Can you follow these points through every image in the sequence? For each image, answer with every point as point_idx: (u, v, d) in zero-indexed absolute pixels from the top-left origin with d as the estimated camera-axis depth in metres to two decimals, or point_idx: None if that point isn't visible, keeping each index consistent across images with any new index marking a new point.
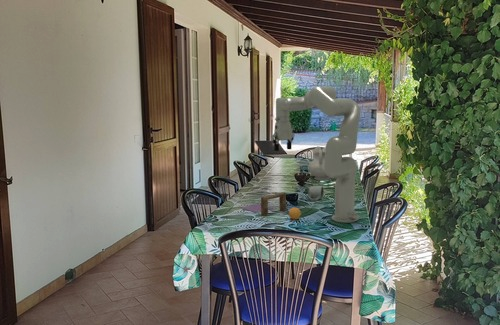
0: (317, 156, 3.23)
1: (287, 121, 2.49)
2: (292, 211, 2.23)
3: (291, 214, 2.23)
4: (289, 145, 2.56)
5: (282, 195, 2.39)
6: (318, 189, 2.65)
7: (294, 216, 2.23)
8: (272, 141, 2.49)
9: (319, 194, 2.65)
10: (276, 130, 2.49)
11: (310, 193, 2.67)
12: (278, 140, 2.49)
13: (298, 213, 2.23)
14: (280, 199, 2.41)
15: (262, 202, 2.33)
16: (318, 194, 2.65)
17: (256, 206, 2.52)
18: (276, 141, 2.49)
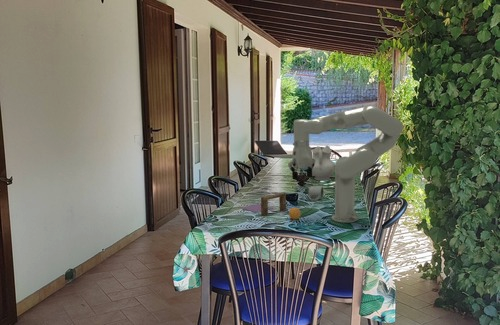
0: (317, 156, 3.23)
1: (307, 146, 2.19)
2: (292, 211, 2.23)
3: (291, 214, 2.23)
4: (309, 172, 2.26)
5: (282, 195, 2.39)
6: (318, 189, 2.65)
7: (294, 216, 2.23)
8: (290, 169, 2.20)
9: (319, 194, 2.64)
10: (294, 156, 2.20)
11: (310, 193, 2.67)
12: (297, 168, 2.20)
13: (298, 213, 2.23)
14: (280, 199, 2.41)
15: (262, 202, 2.33)
16: (318, 194, 2.65)
17: (256, 206, 2.52)
18: (294, 169, 2.20)
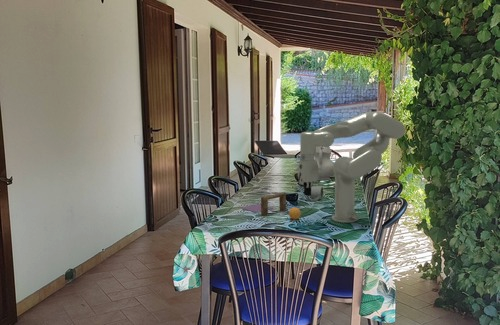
0: (317, 156, 3.23)
1: (314, 160, 2.11)
2: (292, 211, 2.23)
3: (291, 214, 2.23)
4: None
5: (282, 195, 2.39)
6: (318, 190, 2.65)
7: (294, 216, 2.23)
8: (303, 184, 2.15)
9: (319, 194, 2.64)
10: (300, 170, 2.11)
11: None
12: (307, 183, 2.14)
13: (298, 213, 2.23)
14: (280, 199, 2.41)
15: (262, 202, 2.33)
16: (318, 194, 2.64)
17: (256, 206, 2.52)
18: (306, 185, 2.14)
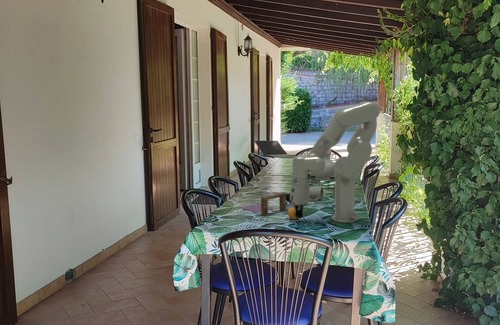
0: None
1: (305, 183, 2.17)
2: (290, 210, 2.24)
3: (290, 214, 2.24)
4: None
5: (282, 195, 2.39)
6: (318, 190, 2.64)
7: (293, 215, 2.24)
8: None
9: (319, 194, 2.64)
10: (292, 193, 2.17)
11: None
12: (299, 206, 2.20)
13: None
14: (280, 199, 2.41)
15: (262, 202, 2.33)
16: (318, 194, 2.64)
17: (256, 206, 2.52)
18: (297, 208, 2.20)
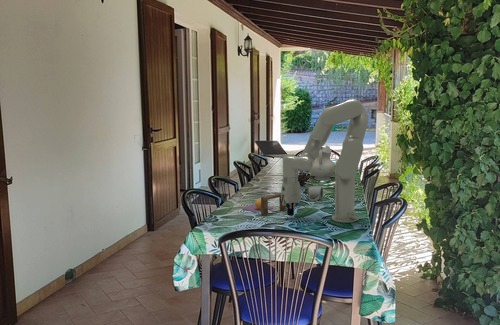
0: (317, 156, 3.23)
1: (295, 182, 2.23)
2: None
3: (256, 204, 2.44)
4: None
5: None
6: (317, 190, 2.64)
7: (256, 201, 2.45)
8: None
9: (318, 195, 2.63)
10: (283, 192, 2.23)
11: (309, 194, 2.65)
12: (290, 204, 2.25)
13: None
14: (280, 199, 2.41)
15: (262, 202, 2.33)
16: (317, 195, 2.63)
17: None
18: (289, 206, 2.26)
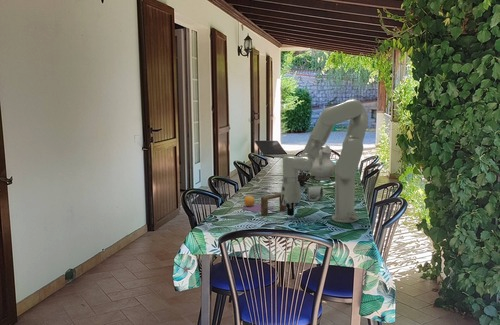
0: (317, 156, 3.23)
1: (295, 182, 2.23)
2: (247, 201, 2.51)
3: (246, 202, 2.51)
4: None
5: None
6: (317, 190, 2.63)
7: (247, 205, 2.52)
8: None
9: (318, 195, 2.63)
10: (283, 192, 2.23)
11: (309, 194, 2.65)
12: (290, 204, 2.25)
13: (251, 204, 2.51)
14: (280, 199, 2.41)
15: (262, 202, 2.33)
16: (317, 195, 2.63)
17: (256, 206, 2.52)
18: (289, 206, 2.26)
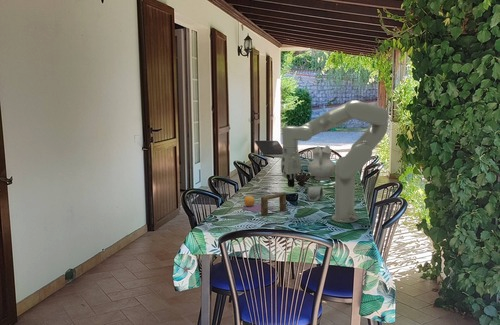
0: (317, 156, 3.23)
1: (295, 152, 2.21)
2: (247, 201, 2.51)
3: (246, 202, 2.51)
4: None
5: (282, 195, 2.39)
6: (317, 190, 2.63)
7: (247, 205, 2.52)
8: None
9: (318, 195, 2.62)
10: (283, 163, 2.21)
11: (309, 194, 2.65)
12: (290, 175, 2.23)
13: (251, 204, 2.51)
14: (280, 199, 2.41)
15: (262, 202, 2.33)
16: (317, 195, 2.63)
17: (256, 206, 2.52)
18: (289, 177, 2.23)
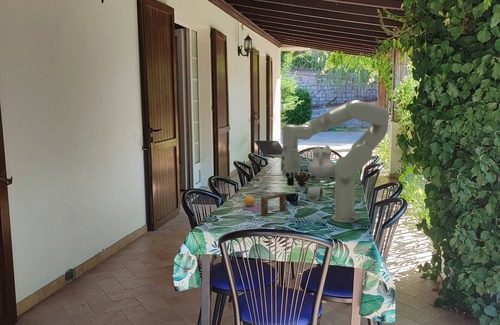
0: (317, 156, 3.23)
1: (295, 151, 2.20)
2: (247, 201, 2.51)
3: (246, 202, 2.51)
4: None
5: (282, 195, 2.39)
6: (317, 190, 2.63)
7: (247, 205, 2.52)
8: None
9: (318, 195, 2.62)
10: (283, 161, 2.21)
11: (309, 194, 2.64)
12: (290, 173, 2.23)
13: (251, 204, 2.51)
14: (280, 199, 2.41)
15: (262, 202, 2.33)
16: (317, 195, 2.62)
17: (256, 206, 2.52)
18: (288, 176, 2.23)
